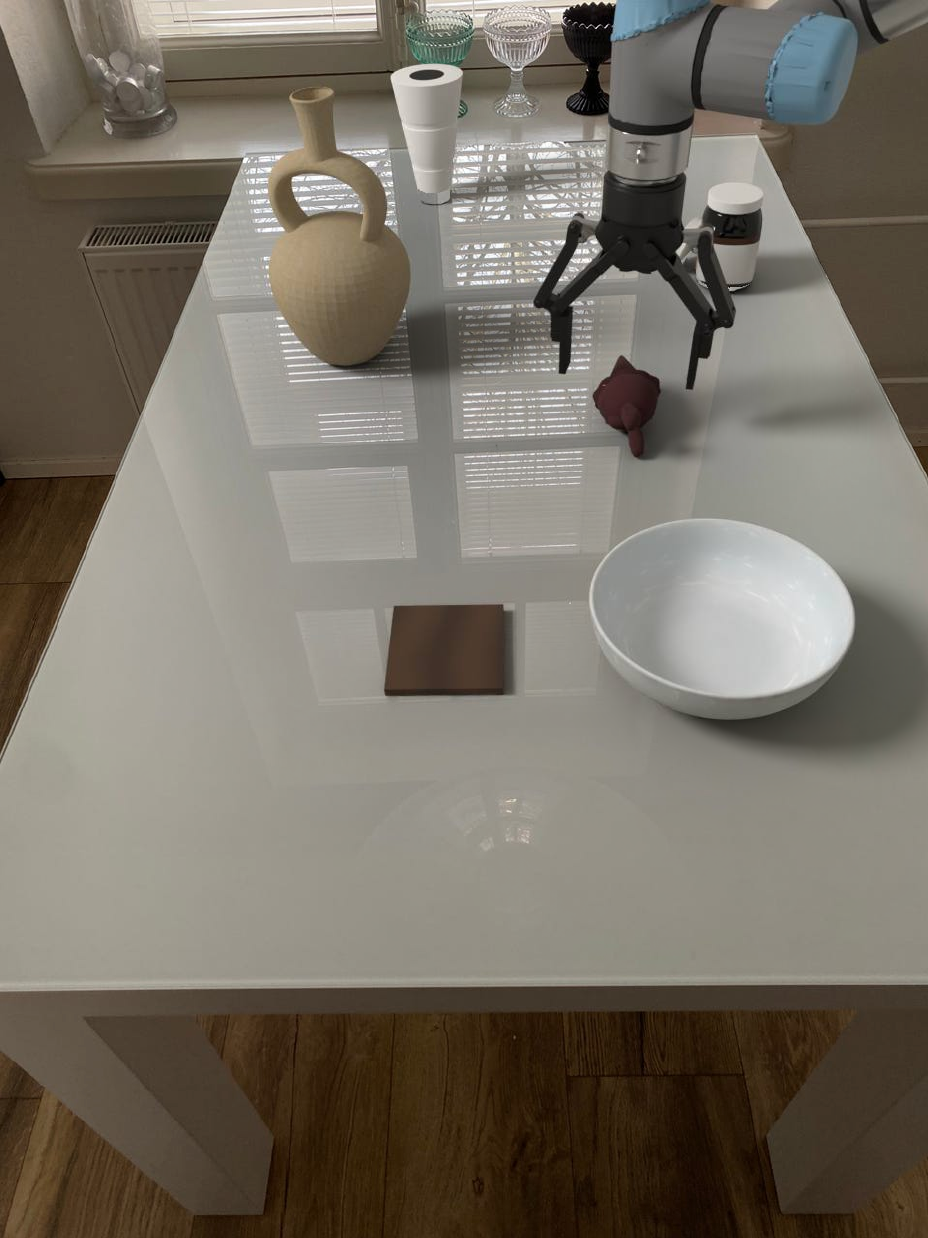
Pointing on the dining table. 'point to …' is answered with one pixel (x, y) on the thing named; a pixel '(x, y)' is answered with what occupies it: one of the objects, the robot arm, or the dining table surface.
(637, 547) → the serving bowl
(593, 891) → the dining table surface
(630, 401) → the beetroot
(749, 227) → the spread jar
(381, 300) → the vase
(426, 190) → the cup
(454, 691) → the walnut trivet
